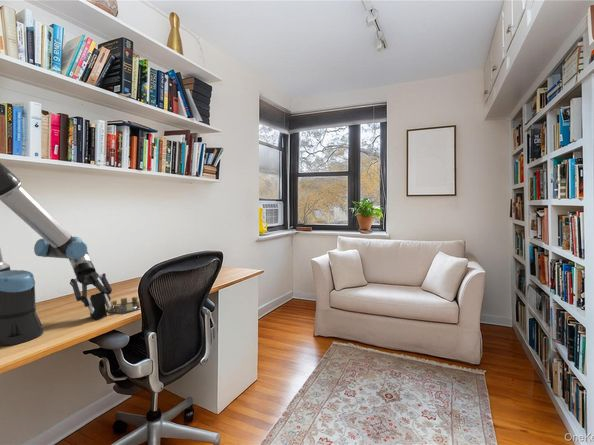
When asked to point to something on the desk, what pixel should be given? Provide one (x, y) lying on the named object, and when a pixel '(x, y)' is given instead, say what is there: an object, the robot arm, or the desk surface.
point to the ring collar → (124, 306)
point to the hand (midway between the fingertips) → (101, 309)
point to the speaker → (98, 306)
